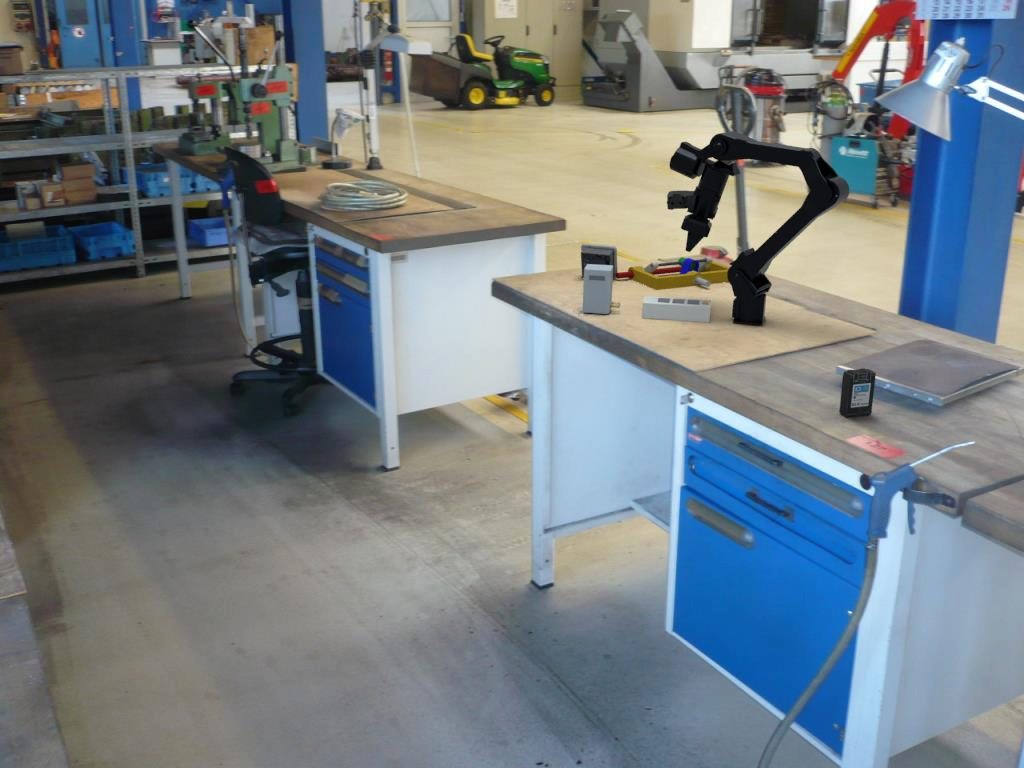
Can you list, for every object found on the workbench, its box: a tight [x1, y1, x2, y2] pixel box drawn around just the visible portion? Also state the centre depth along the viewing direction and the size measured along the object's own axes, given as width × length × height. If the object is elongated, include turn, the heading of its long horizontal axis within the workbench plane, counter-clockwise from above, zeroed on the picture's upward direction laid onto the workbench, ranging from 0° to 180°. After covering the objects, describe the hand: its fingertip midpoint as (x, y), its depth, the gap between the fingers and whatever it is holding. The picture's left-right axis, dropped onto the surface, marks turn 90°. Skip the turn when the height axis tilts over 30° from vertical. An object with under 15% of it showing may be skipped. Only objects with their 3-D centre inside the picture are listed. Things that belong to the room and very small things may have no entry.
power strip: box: [641, 295, 712, 323], centre depth 246 cm, size 15×17×4 cm
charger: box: [582, 264, 622, 315], centre depth 243 cm, size 8×6×10 cm
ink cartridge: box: [839, 368, 877, 419], centre depth 183 cm, size 5×2×8 cm, turn 105°
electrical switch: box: [580, 242, 619, 280], centre depth 273 cm, size 9×5×9 cm, turn 69°
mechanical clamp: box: [616, 256, 731, 291], centre depth 272 cm, size 18×6×30 cm
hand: (687, 251), depth 243 cm, fingers closed
